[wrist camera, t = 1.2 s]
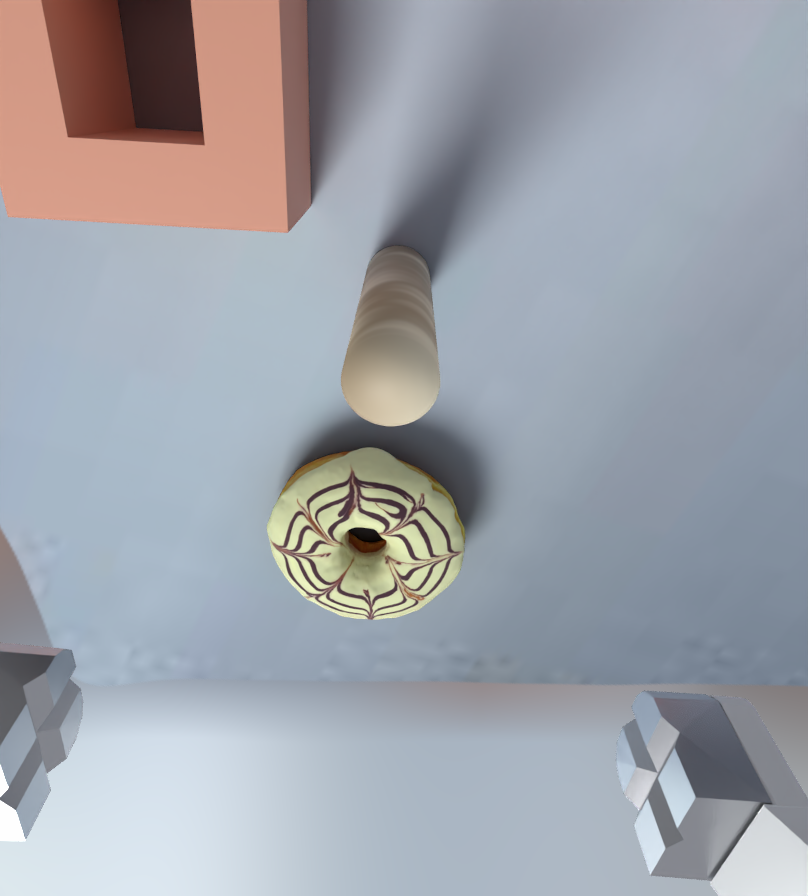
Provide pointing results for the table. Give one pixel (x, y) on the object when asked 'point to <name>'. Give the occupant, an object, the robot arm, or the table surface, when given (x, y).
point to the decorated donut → (369, 506)
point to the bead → (155, 150)
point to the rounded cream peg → (393, 342)
